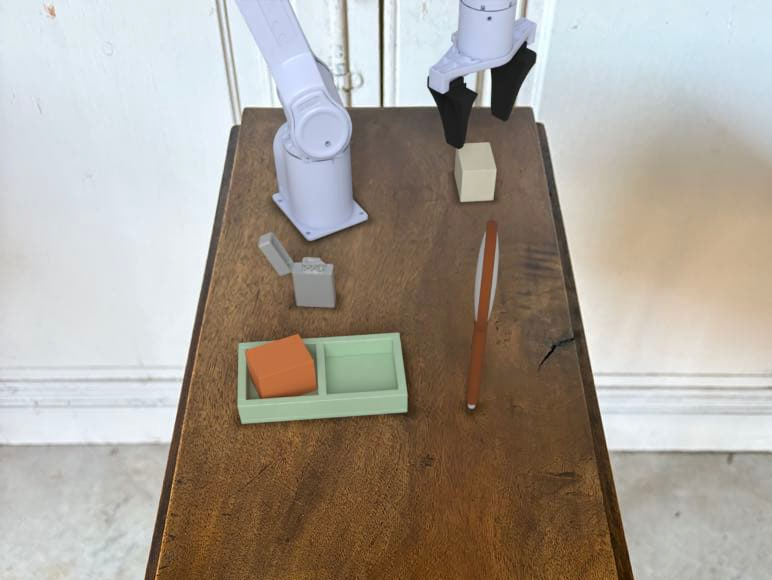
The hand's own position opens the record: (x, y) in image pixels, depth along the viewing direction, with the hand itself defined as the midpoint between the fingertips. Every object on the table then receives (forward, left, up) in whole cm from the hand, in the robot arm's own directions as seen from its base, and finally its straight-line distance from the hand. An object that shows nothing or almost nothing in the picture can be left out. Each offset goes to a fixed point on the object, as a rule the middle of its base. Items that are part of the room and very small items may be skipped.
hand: (477, 130), depth 90 cm
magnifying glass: (+29, -20, -8) cm, 36 cm away
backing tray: (+19, -31, -7) cm, 37 cm away
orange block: (+17, -34, -7) cm, 39 cm away
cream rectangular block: (0, 0, -7) cm, 7 cm away
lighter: (+7, -27, -8) cm, 29 cm away
